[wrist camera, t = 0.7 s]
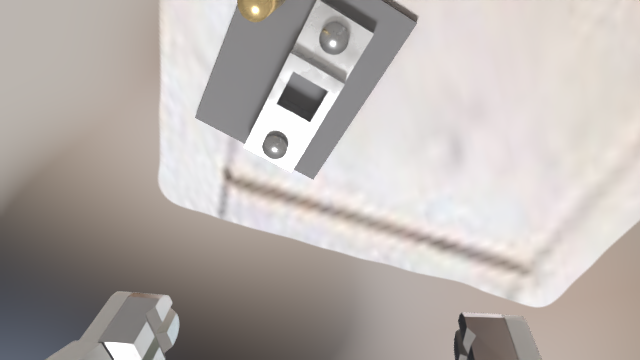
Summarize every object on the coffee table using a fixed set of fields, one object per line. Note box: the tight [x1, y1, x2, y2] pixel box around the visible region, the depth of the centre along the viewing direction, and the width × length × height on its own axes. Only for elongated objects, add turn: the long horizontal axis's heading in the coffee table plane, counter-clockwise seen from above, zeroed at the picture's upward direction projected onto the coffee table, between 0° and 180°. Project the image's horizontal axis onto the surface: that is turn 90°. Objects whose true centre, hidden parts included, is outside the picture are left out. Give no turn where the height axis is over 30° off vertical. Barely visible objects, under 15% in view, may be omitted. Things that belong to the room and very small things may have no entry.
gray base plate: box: [195, 0, 417, 179], centre depth 46 cm, size 24×18×1 cm
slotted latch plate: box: [244, 0, 374, 172], centre depth 45 cm, size 20×7×3 cm, turn 152°
